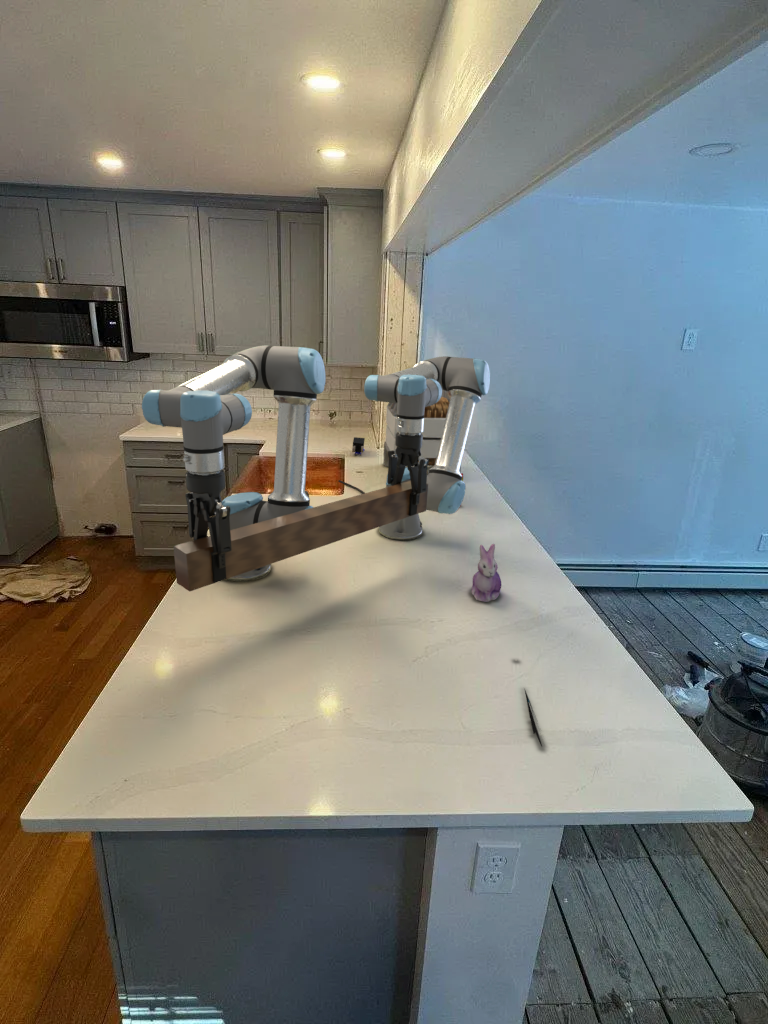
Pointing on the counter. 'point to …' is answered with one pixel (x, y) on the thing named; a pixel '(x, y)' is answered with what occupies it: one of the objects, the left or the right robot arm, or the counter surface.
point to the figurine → (486, 576)
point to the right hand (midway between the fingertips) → (404, 511)
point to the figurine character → (358, 445)
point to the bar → (294, 534)
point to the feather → (532, 718)
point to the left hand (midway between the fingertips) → (212, 575)
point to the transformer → (431, 430)
